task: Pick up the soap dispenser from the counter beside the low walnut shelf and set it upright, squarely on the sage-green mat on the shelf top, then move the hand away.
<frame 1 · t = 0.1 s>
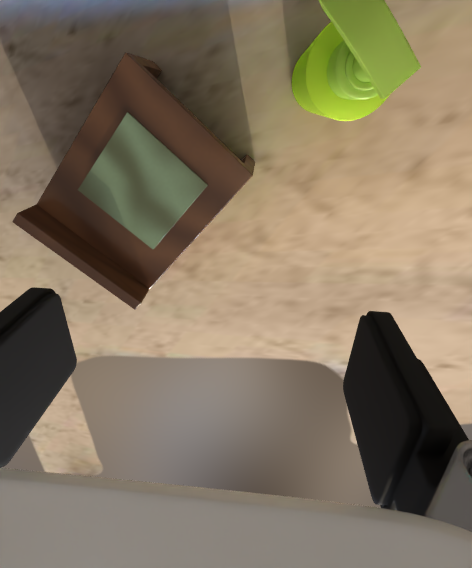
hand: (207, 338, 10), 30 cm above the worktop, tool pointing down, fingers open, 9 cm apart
soap dispenser: (318, 75, 32), on the worktop
shelf: (157, 179, 38), on the worktop
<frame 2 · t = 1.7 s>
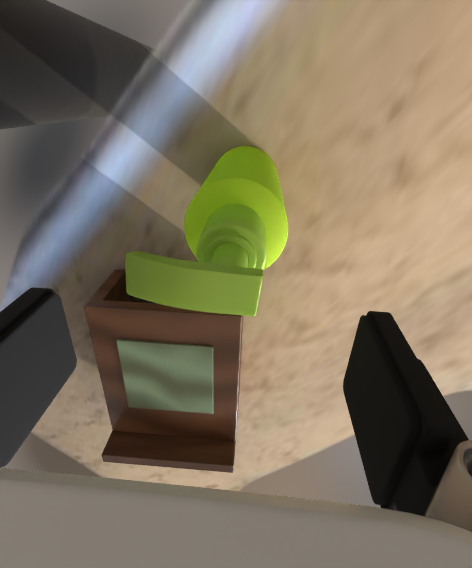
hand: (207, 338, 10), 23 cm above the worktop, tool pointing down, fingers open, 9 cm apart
soap dispenser: (239, 179, 30), on the worktop
shelf: (183, 339, 40), on the worktop
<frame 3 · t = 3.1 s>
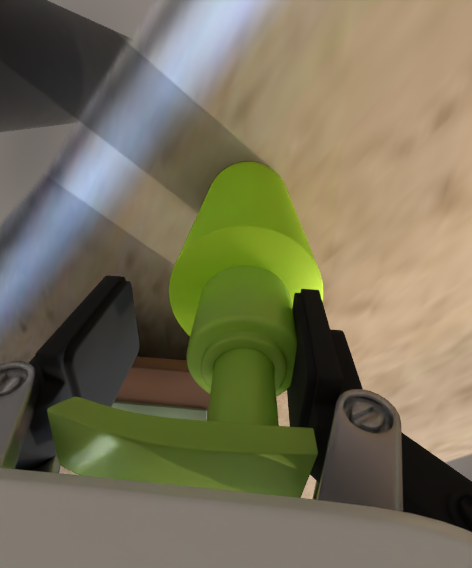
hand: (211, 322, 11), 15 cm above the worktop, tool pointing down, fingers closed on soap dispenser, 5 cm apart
soap dispenser: (240, 202, 24), on the worktop, touching gripper
shelf: (174, 384, 34), on the worktop
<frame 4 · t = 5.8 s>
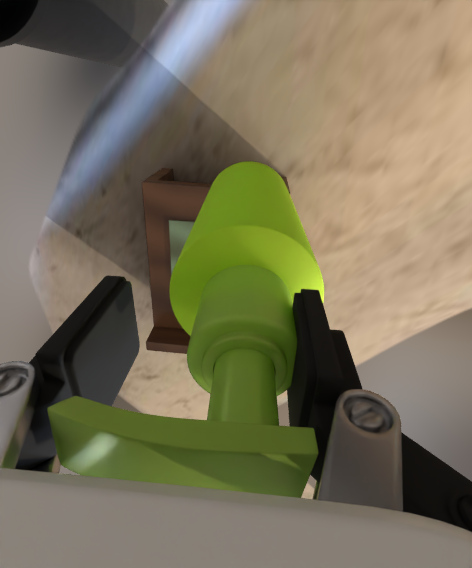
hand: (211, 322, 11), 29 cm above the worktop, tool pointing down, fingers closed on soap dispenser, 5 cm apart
soap dispenser: (241, 202, 24), point 14 cm above the worktop, touching gripper
shelf: (221, 246, 42), on the worktop
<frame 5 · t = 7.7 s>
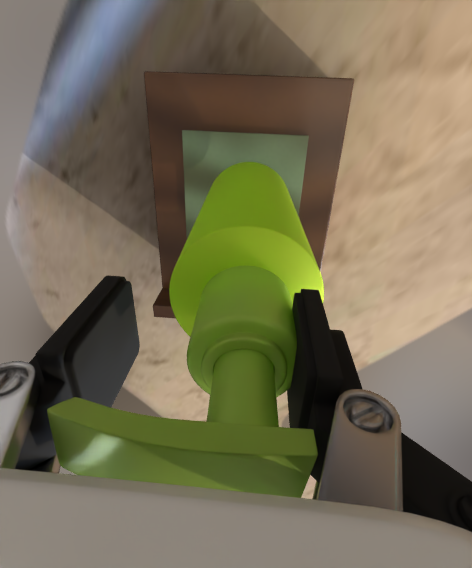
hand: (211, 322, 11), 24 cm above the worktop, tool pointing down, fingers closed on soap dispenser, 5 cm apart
soap dispenser: (241, 202, 24), point 9 cm above the worktop, touching gripper
shelf: (246, 187, 33), on the worktop
when the fingers open (22 cm above the worktop, at t = 8.7 s): soap dispenser stays where it is, resting on shelf.
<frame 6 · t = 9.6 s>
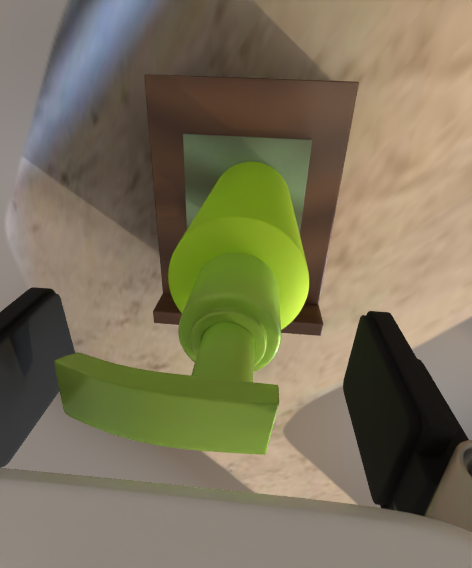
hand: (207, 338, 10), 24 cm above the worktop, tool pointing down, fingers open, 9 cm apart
soap dispenser: (244, 200, 25), point 7 cm above the worktop, touching shelf
shelf: (248, 191, 32), on the worktop
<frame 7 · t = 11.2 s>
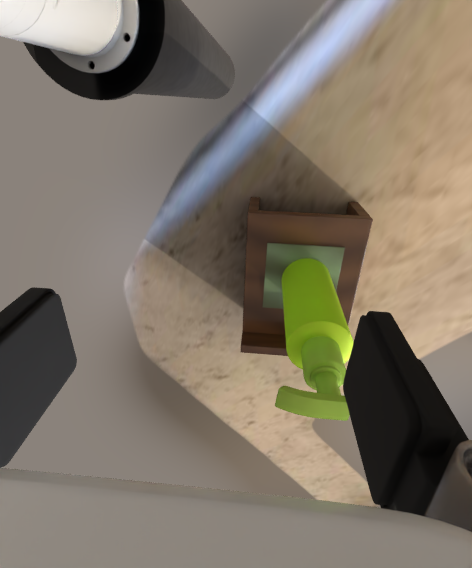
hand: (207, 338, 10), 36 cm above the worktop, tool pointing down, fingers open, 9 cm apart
soap dispenser: (301, 278, 41), point 7 cm above the worktop, touching shelf
shelf: (296, 261, 48), on the worktop
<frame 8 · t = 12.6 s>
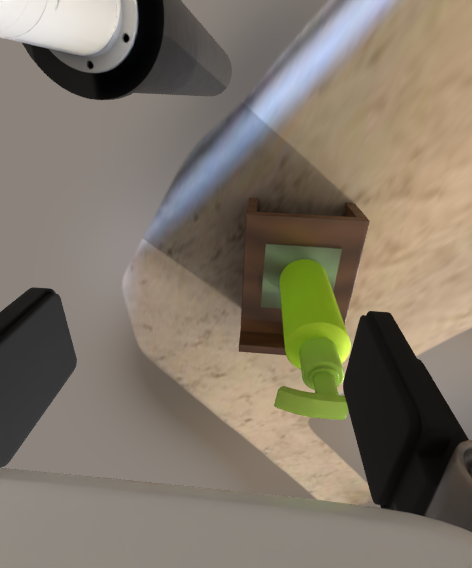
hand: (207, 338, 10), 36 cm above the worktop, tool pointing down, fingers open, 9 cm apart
soap dispenser: (298, 278, 42), point 7 cm above the worktop, touching shelf
shelf: (293, 261, 49), on the worktop
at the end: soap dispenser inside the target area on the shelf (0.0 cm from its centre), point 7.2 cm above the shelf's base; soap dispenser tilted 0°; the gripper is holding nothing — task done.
